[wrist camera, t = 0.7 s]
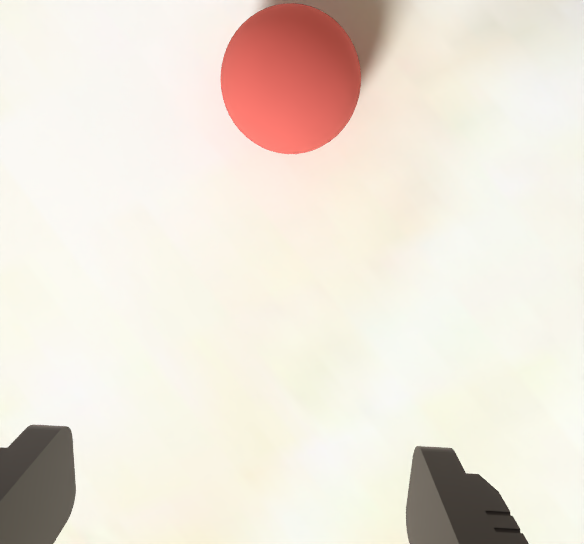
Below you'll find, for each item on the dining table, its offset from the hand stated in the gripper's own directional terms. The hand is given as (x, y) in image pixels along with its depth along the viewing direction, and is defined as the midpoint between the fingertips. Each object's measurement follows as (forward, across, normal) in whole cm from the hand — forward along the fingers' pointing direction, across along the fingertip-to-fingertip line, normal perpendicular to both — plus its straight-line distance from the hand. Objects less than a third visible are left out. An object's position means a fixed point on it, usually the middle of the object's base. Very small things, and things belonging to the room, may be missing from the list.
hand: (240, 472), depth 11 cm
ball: (+13, 0, -10) cm, 16 cm away
